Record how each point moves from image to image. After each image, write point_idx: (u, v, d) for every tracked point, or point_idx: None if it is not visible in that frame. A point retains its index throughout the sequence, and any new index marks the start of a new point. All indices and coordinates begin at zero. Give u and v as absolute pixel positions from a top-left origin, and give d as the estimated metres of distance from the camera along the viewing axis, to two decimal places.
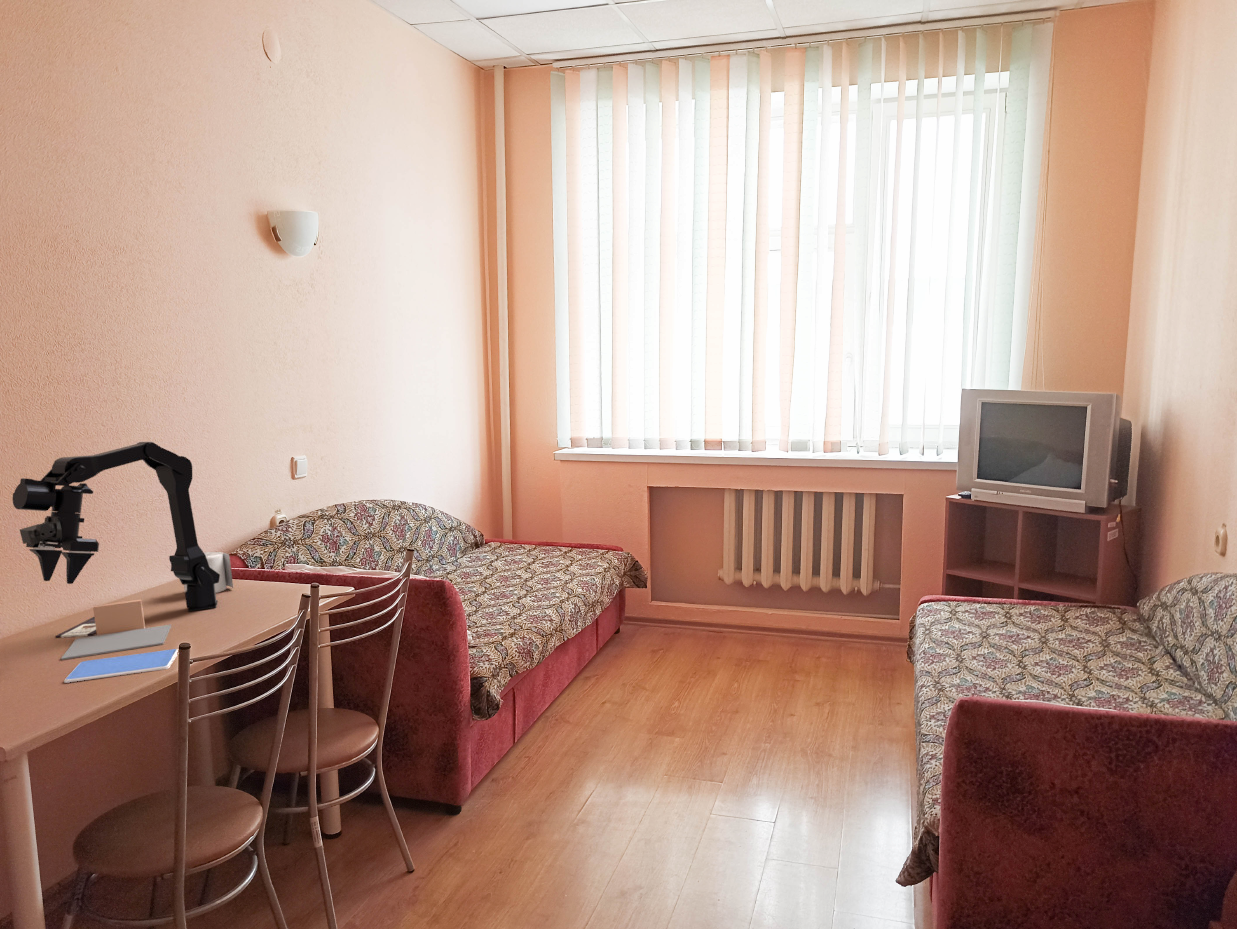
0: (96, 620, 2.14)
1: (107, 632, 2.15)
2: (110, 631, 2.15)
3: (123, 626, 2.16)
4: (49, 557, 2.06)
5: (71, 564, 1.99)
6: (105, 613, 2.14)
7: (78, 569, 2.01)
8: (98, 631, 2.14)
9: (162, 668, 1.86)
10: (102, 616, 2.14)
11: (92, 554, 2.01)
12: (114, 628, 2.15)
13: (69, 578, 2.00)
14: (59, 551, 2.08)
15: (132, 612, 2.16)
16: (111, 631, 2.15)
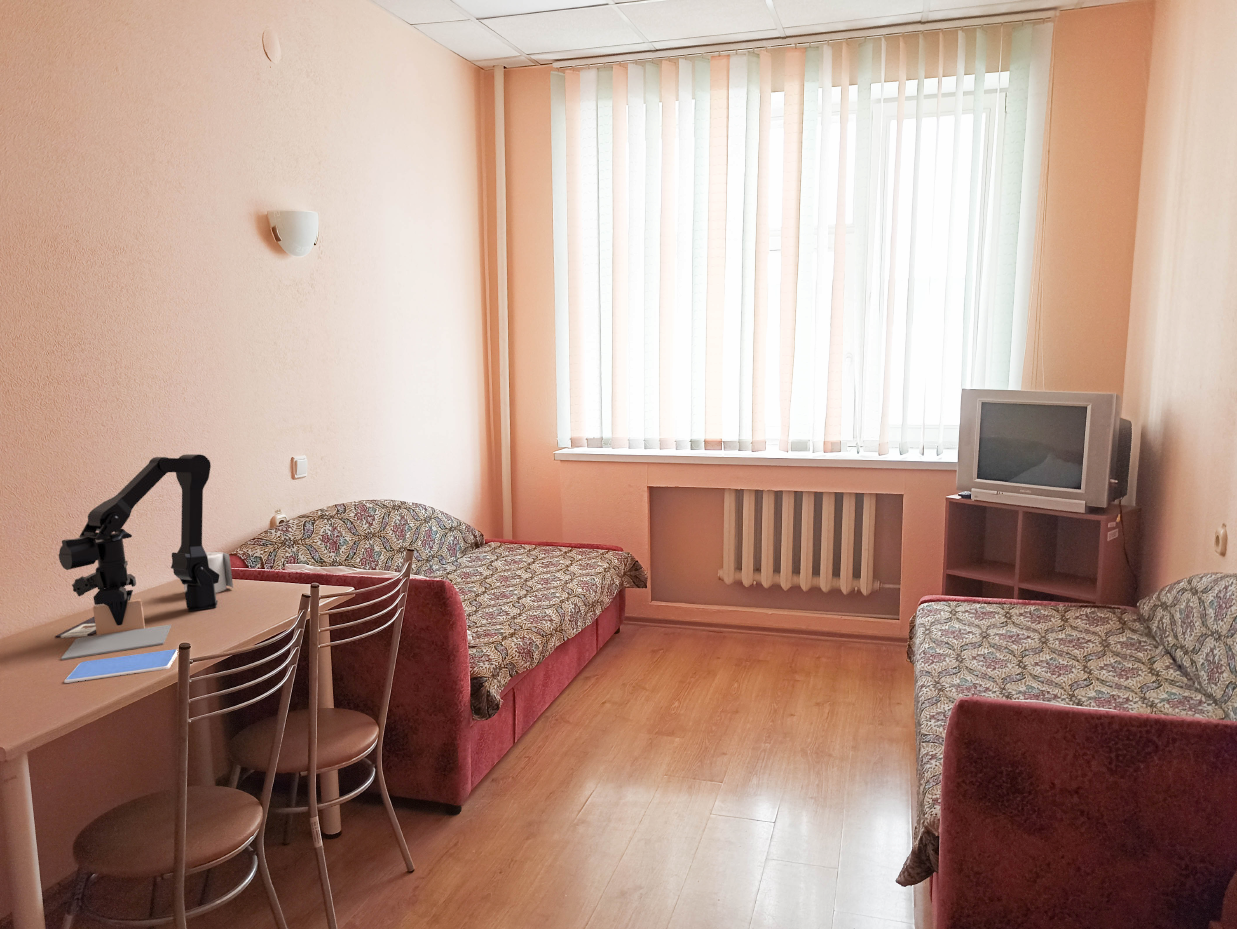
0: (96, 620, 2.14)
1: (107, 632, 2.15)
2: (110, 631, 2.15)
3: (122, 625, 2.16)
4: None
5: (112, 609, 2.13)
6: (105, 613, 2.14)
7: (121, 612, 2.14)
8: (98, 631, 2.14)
9: (162, 668, 1.86)
10: (102, 616, 2.14)
11: None
12: (114, 628, 2.15)
13: (116, 621, 2.15)
14: (128, 593, 2.18)
15: (132, 612, 2.16)
16: (111, 631, 2.15)
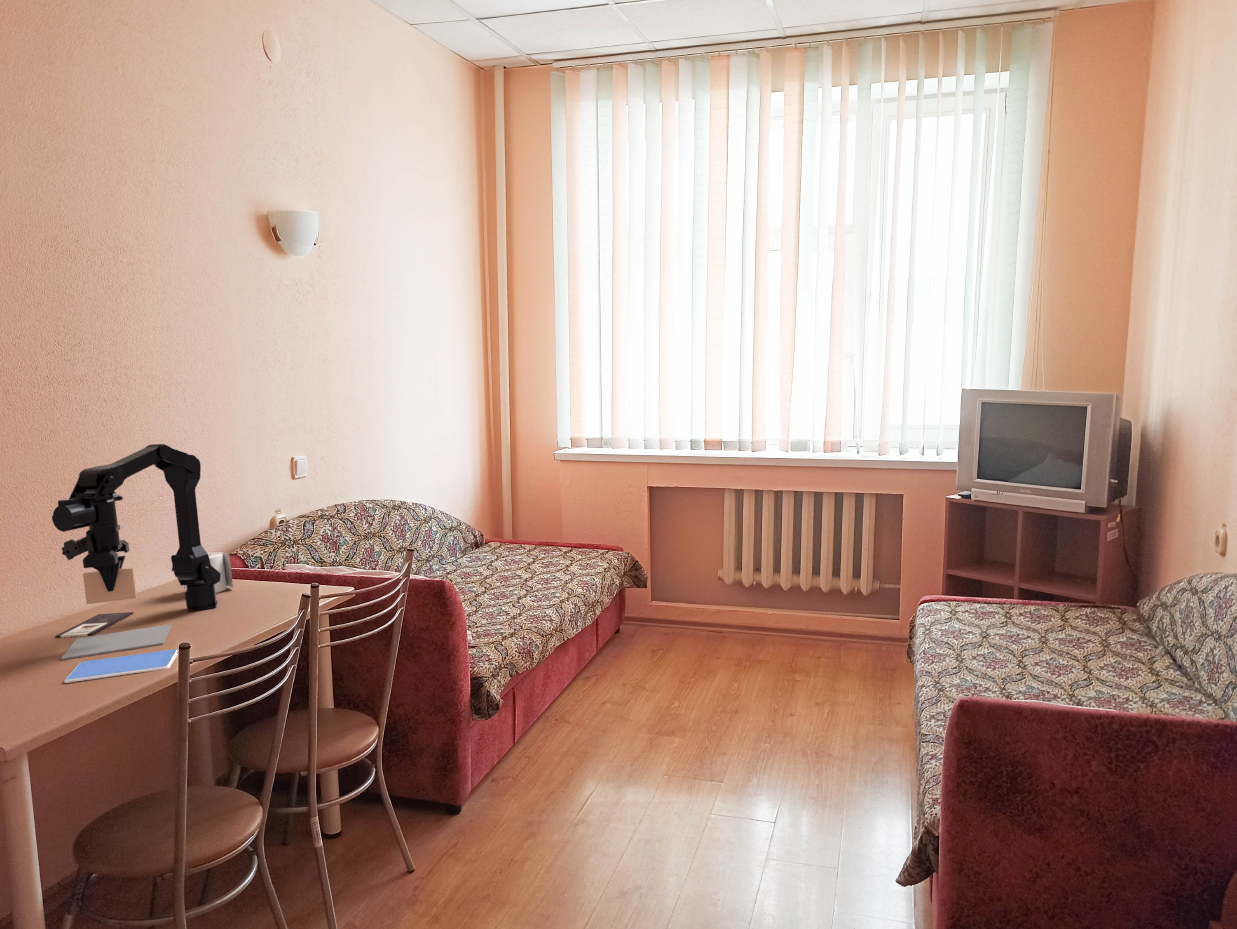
0: (86, 587, 2.05)
1: (97, 600, 2.06)
2: (100, 599, 2.06)
3: (113, 594, 2.07)
4: None
5: (102, 574, 2.04)
6: (95, 580, 2.06)
7: (112, 578, 2.06)
8: (88, 599, 2.05)
9: (162, 668, 1.86)
10: (92, 583, 2.05)
11: (115, 564, 2.03)
12: (104, 596, 2.06)
13: (107, 587, 2.06)
14: (120, 559, 2.09)
15: (123, 580, 2.07)
16: (101, 600, 2.06)
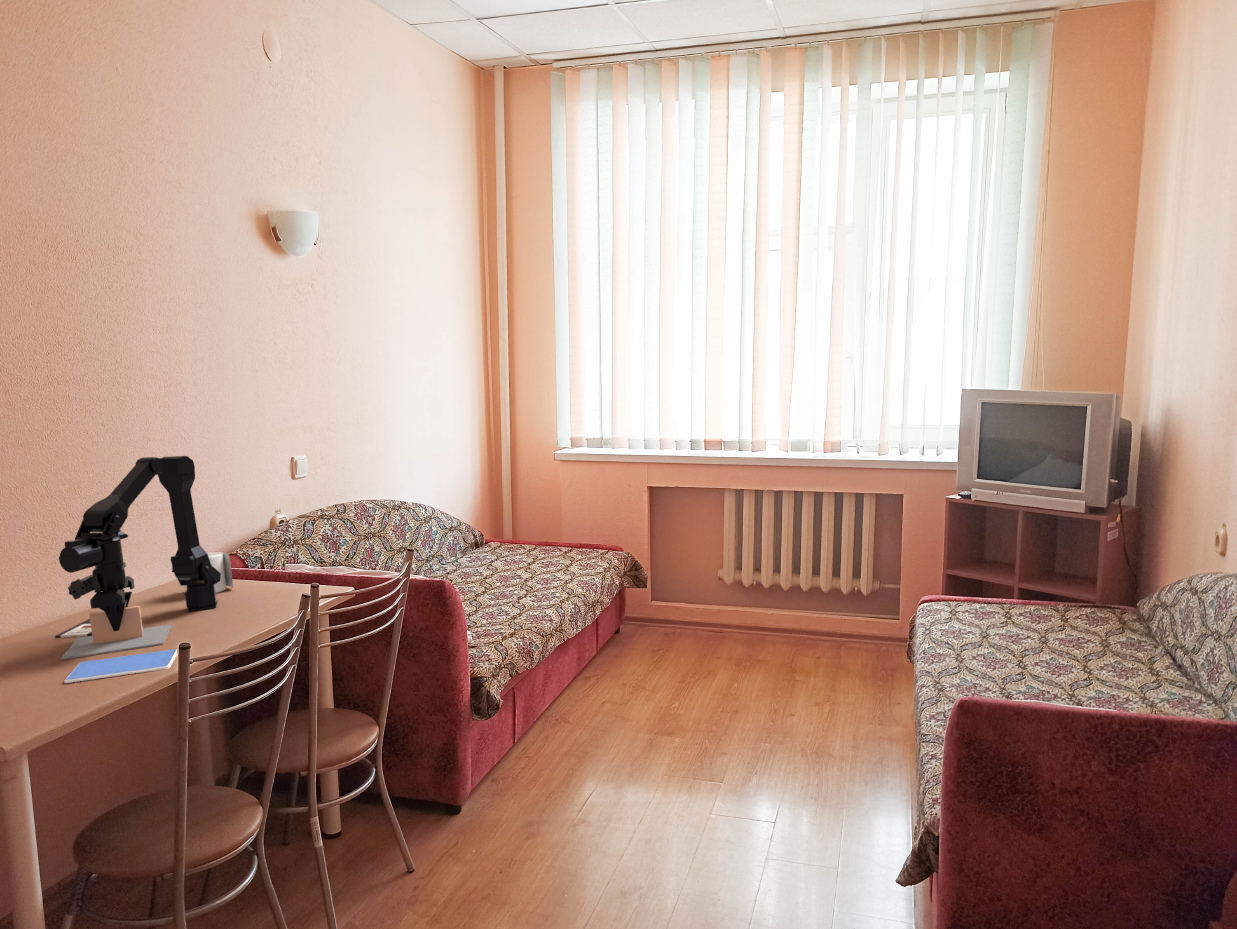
0: (92, 627, 2.06)
1: (104, 640, 2.07)
2: (107, 639, 2.07)
3: (120, 633, 2.08)
4: None
5: (108, 614, 2.04)
6: (102, 620, 2.06)
7: (118, 617, 2.05)
8: (95, 638, 2.06)
9: (163, 668, 1.86)
10: (99, 623, 2.06)
11: (121, 604, 2.03)
12: (111, 635, 2.07)
13: (113, 626, 2.05)
14: (127, 595, 2.11)
15: (129, 619, 2.08)
16: (108, 639, 2.07)
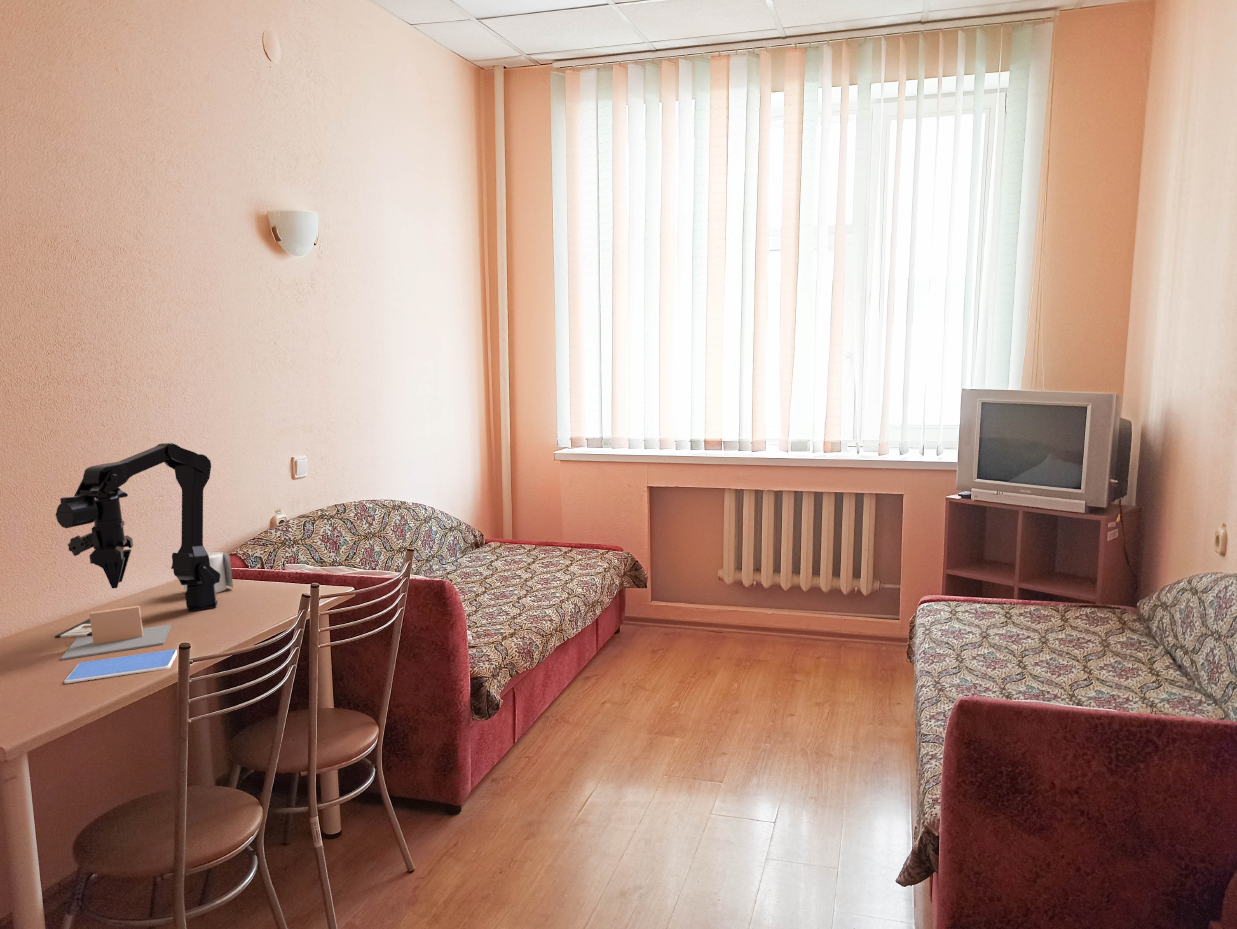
0: (92, 627, 2.06)
1: (104, 640, 2.07)
2: (107, 639, 2.07)
3: (120, 633, 2.08)
4: None
5: (106, 571, 2.07)
6: (102, 620, 2.06)
7: (116, 575, 2.08)
8: (95, 638, 2.06)
9: (163, 668, 1.86)
10: (99, 623, 2.06)
11: (119, 561, 2.06)
12: (111, 635, 2.07)
13: (111, 583, 2.08)
14: (127, 552, 2.16)
15: (129, 619, 2.08)
16: (108, 639, 2.07)
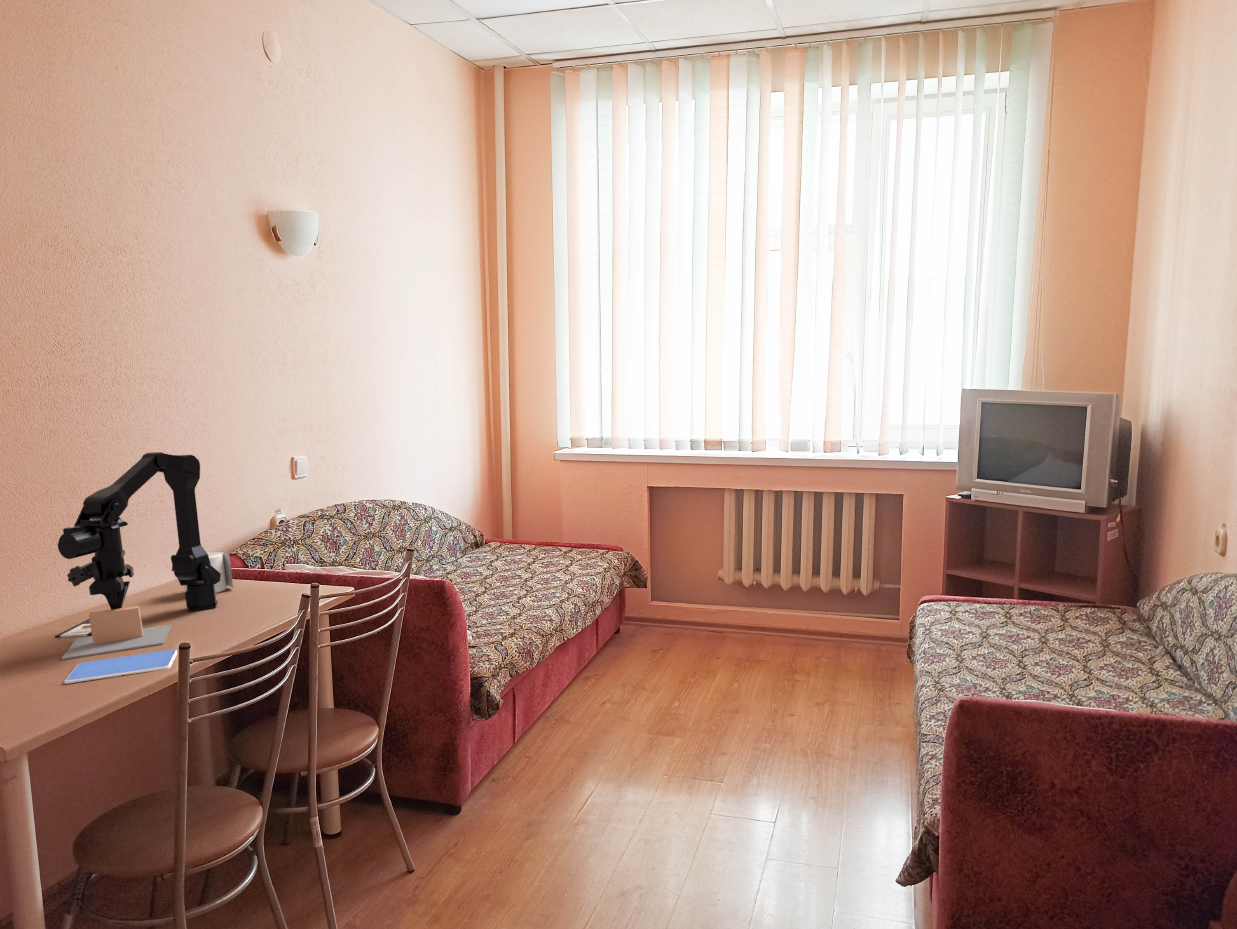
0: (92, 628, 2.05)
1: (104, 640, 2.07)
2: (107, 639, 2.07)
3: (120, 633, 2.08)
4: None
5: (109, 599, 2.07)
6: (101, 621, 2.06)
7: (119, 602, 2.08)
8: (95, 639, 2.06)
9: (163, 668, 1.86)
10: (98, 624, 2.06)
11: None
12: (111, 636, 2.07)
13: None
14: (125, 585, 2.10)
15: (129, 619, 2.08)
16: (108, 639, 2.07)
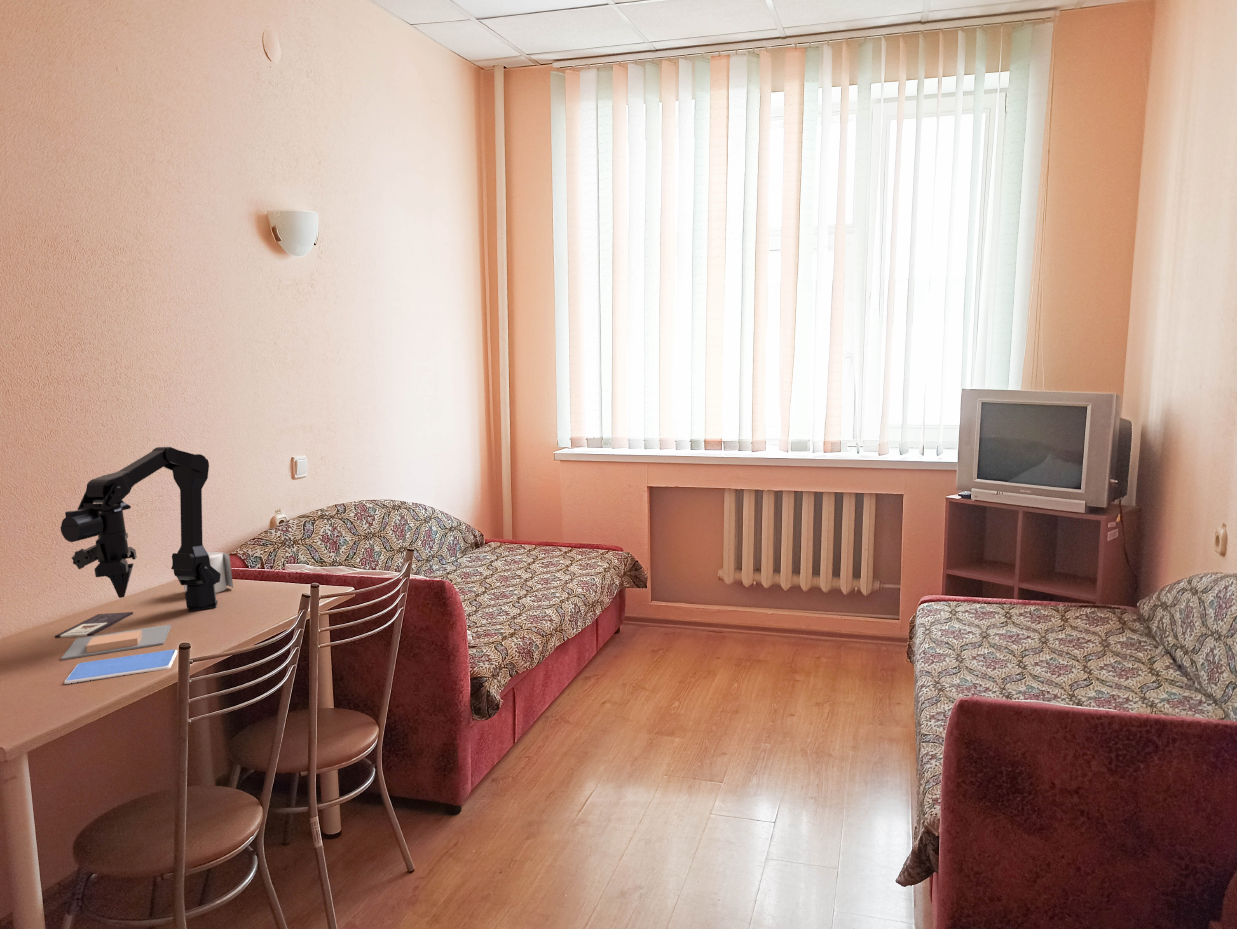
0: None
1: None
2: None
3: None
4: None
5: (113, 581, 2.09)
6: None
7: (123, 584, 2.11)
8: None
9: (164, 668, 1.86)
10: None
11: None
12: None
13: (118, 593, 2.11)
14: (129, 567, 2.12)
15: None
16: None
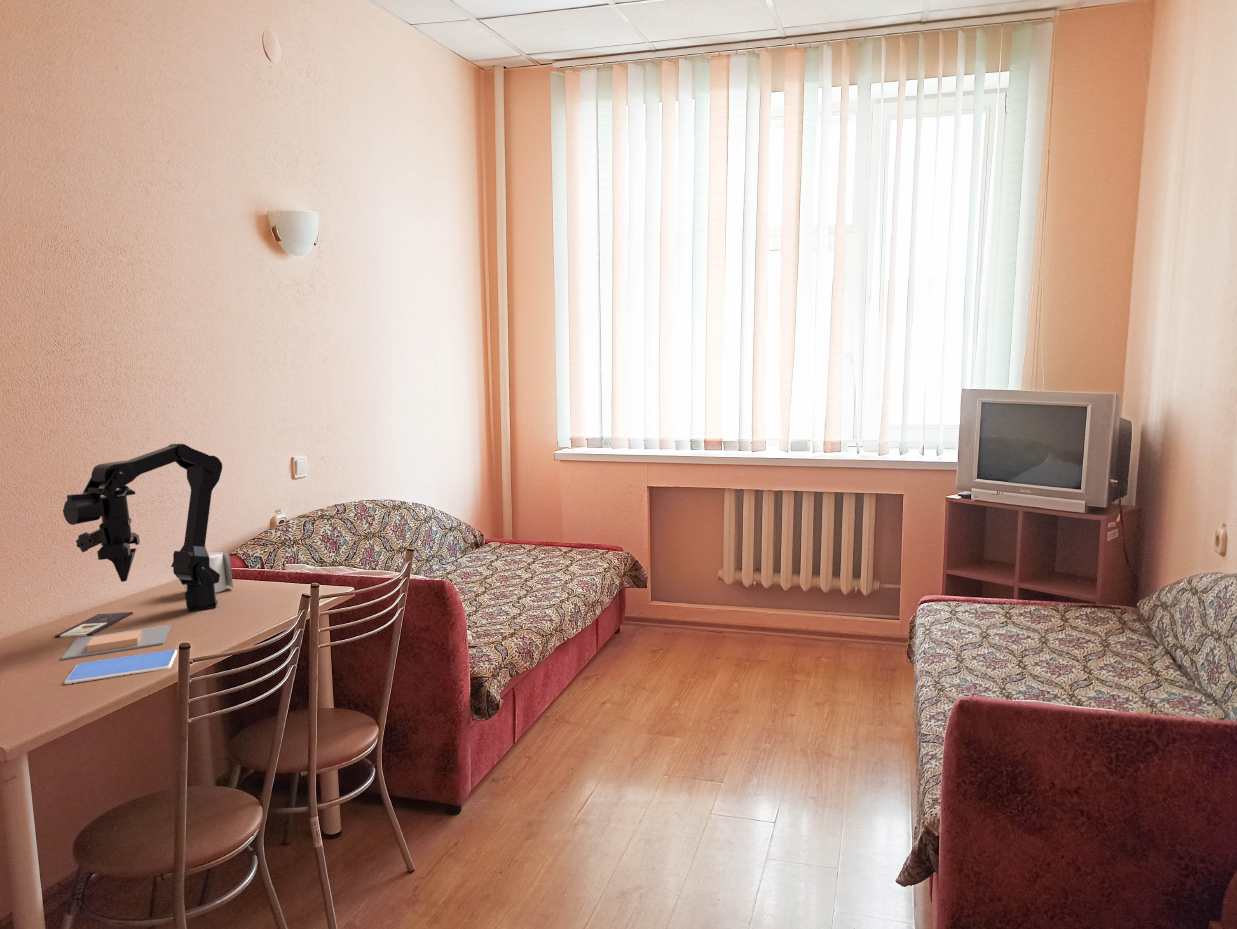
0: None
1: None
2: None
3: None
4: None
5: (116, 565, 2.13)
6: None
7: (126, 568, 2.15)
8: None
9: (164, 668, 1.86)
10: None
11: (128, 555, 2.12)
12: None
13: (120, 577, 2.15)
14: (131, 551, 2.16)
15: None
16: None
